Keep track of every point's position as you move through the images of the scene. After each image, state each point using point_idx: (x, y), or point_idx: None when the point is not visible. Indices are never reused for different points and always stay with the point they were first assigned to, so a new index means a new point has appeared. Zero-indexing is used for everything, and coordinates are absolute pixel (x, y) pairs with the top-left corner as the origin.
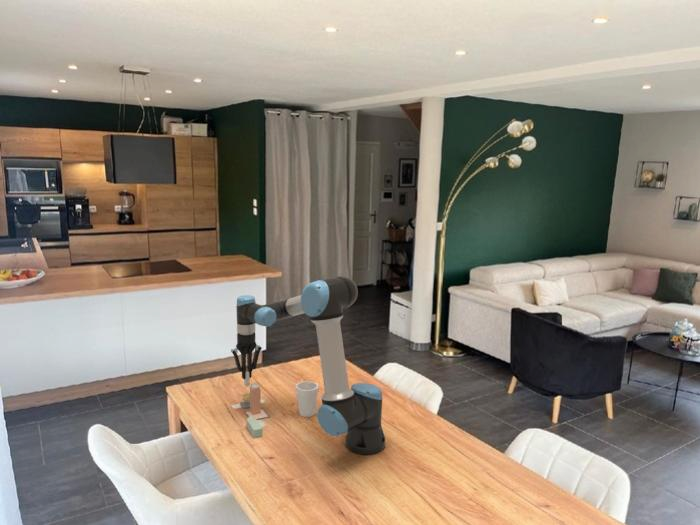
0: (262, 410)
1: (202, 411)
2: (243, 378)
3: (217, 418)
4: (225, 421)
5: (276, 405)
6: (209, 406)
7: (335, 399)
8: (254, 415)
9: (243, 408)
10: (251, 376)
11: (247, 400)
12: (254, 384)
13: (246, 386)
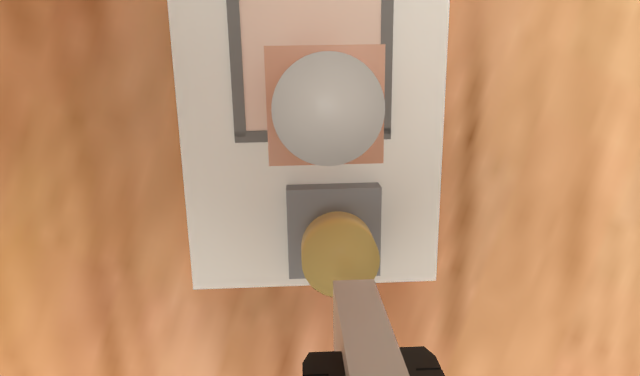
0: (250, 94)
1: (620, 290)
2: (425, 352)
3: (574, 150)
4: (544, 80)
5: (114, 167)
6: (555, 340)
7: None
8: (336, 37)
9: (379, 184)
10: (303, 364)
11: (347, 214)
12: (331, 126)
13: (370, 281)
